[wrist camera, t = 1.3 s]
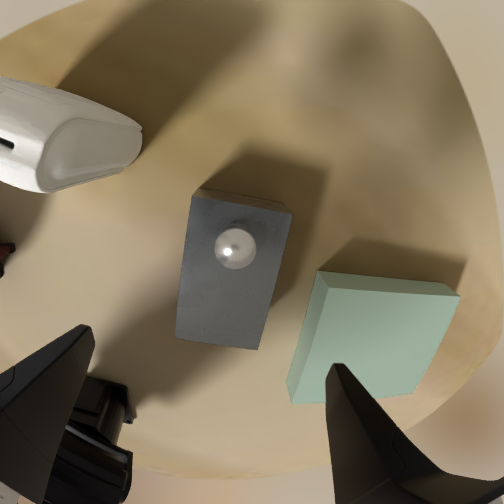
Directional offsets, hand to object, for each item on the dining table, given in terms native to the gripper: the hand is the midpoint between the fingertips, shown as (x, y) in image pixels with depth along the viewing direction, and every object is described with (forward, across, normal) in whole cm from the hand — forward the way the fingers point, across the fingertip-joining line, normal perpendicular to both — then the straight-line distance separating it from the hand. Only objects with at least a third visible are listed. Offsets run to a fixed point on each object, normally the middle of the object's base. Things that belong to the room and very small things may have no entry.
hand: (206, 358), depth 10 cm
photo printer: (+13, +12, -6) cm, 19 cm away
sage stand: (+13, -14, +9) cm, 21 cm away
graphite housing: (+13, 0, +3) cm, 13 cm away
